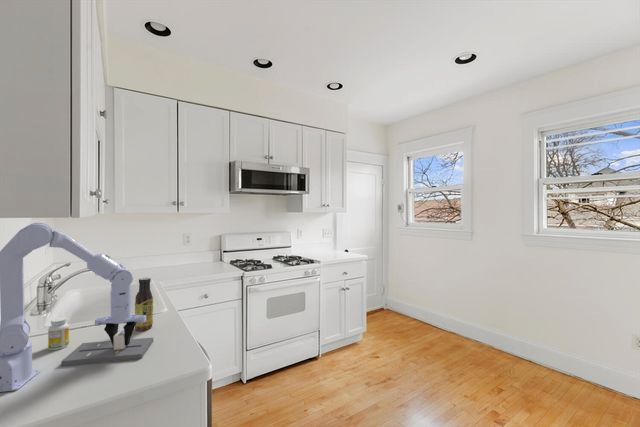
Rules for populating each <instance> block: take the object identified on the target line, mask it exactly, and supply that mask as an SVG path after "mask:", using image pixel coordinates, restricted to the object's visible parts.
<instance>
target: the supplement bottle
mask: <svg viewBox="0 0 640 427" xmlns="http://www.w3.org/2000/svg"><path fill="white" fill-rule="evenodd" d="M67 321H68V320H67V317H66V316H65V317H63V316H61V317H56V318H52V319H51V320H50V326H49V327H48V330H47V331H48V332H47V333H48V334H47V338H48V339H47V341H48V342H47V343H48V344H47V347H48V350H49V351H59V350H62V349H64V348H67V347H68V346H69V344H70V325H69V323H67Z"/></svg>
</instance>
